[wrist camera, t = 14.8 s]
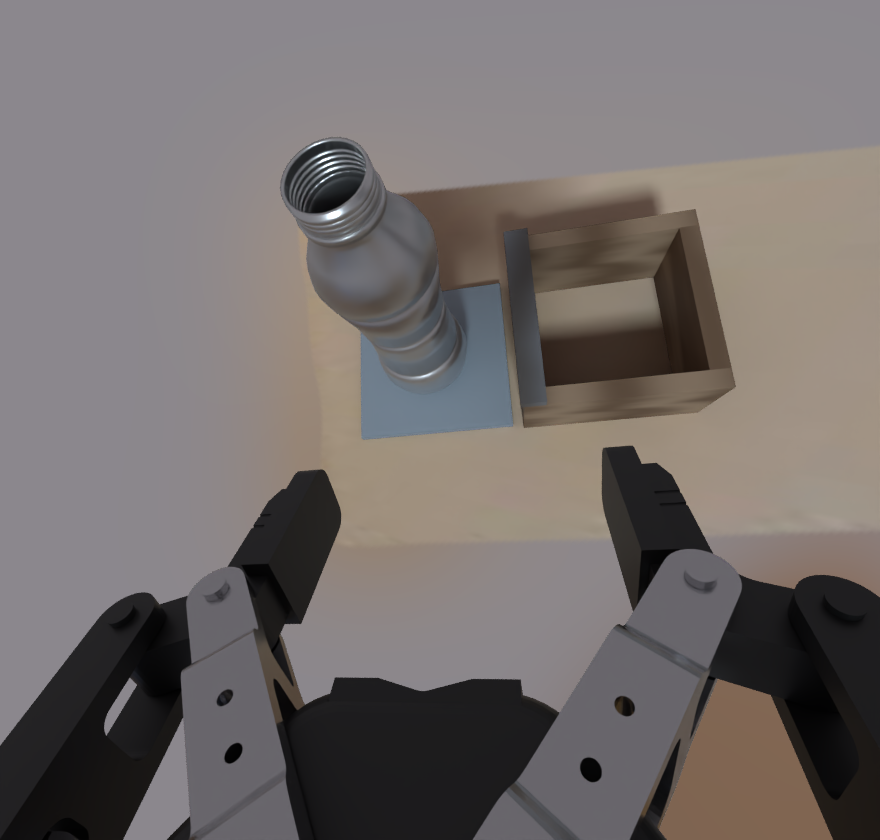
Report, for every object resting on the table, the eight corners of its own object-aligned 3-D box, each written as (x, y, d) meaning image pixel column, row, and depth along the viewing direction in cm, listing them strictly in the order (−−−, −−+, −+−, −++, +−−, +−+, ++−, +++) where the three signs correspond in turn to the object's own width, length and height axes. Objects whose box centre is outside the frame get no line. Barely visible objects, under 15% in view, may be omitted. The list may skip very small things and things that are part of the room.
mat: (499, 287, 37) (499, 283, 37) (513, 426, 34) (512, 424, 34) (362, 306, 39) (360, 302, 39) (364, 439, 36) (361, 438, 36)
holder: (667, 261, 35) (700, 200, 29) (697, 412, 32) (742, 382, 26) (506, 283, 37) (503, 231, 31) (521, 428, 34) (520, 404, 28)
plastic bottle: (377, 352, 37) (220, 168, 18) (447, 310, 37) (362, 77, 18) (413, 416, 35) (280, 285, 16) (486, 372, 35) (439, 185, 16)
